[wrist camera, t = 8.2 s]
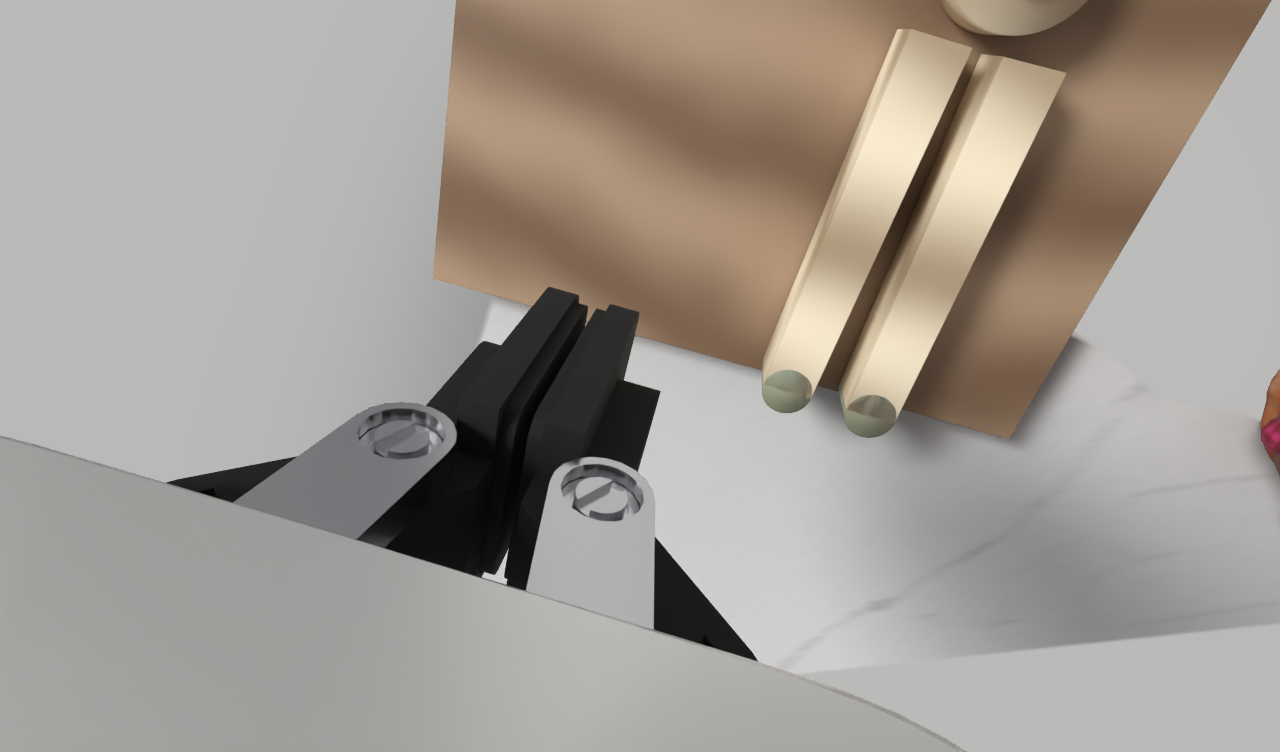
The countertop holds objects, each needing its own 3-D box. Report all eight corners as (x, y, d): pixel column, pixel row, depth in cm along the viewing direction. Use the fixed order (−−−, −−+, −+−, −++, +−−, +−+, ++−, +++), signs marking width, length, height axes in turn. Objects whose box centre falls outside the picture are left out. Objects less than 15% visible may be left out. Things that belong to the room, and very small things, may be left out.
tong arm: (968, -147, 19) (992, -167, 17) (1113, -103, 19) (1154, -118, 17) (755, 377, 27) (755, 404, 25) (855, 409, 27) (862, 438, 25)
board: (501, -239, 21) (478, -263, 20) (1258, -49, 20) (1305, -57, 19) (452, 263, 29) (432, 278, 28) (993, 413, 29) (1009, 439, 27)
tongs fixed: (993, -81, 19) (1029, -98, 17) (1096, -55, 19) (1149, -68, 17) (802, 393, 27) (807, 432, 24) (875, 413, 27) (888, 455, 24)
